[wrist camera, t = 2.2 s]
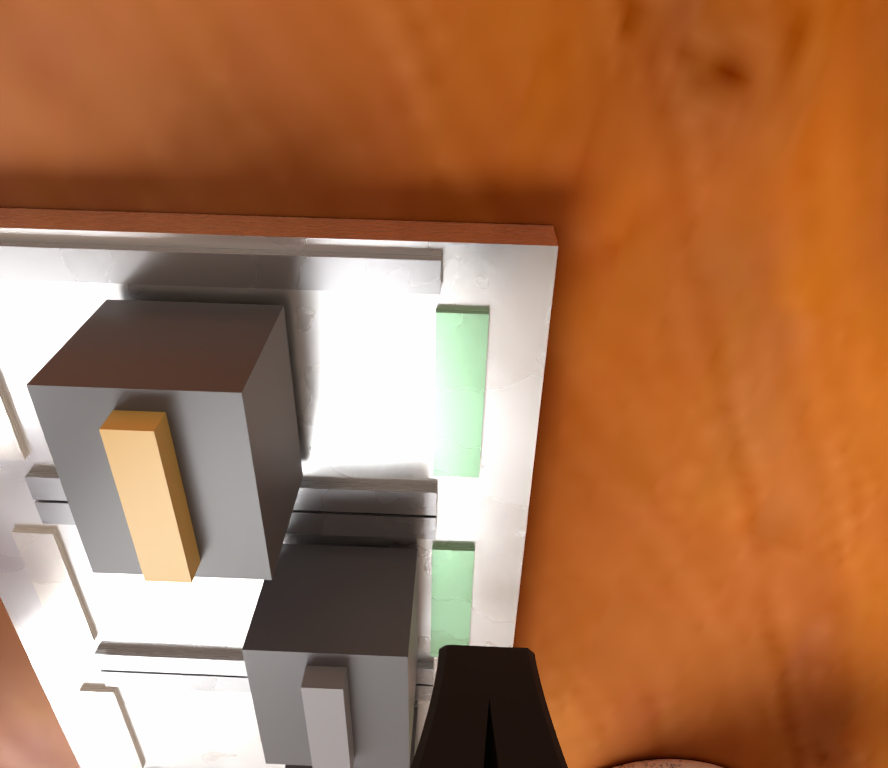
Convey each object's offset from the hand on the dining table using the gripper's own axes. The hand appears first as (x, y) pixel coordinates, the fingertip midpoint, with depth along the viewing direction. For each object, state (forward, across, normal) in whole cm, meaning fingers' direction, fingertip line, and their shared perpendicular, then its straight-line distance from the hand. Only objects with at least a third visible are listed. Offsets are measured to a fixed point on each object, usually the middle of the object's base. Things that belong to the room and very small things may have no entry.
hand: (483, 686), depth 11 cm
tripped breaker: (+8, +6, 0) cm, 10 cm away
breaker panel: (+9, +6, +8) cm, 13 cm away
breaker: (+8, +3, +7) cm, 11 cm away
